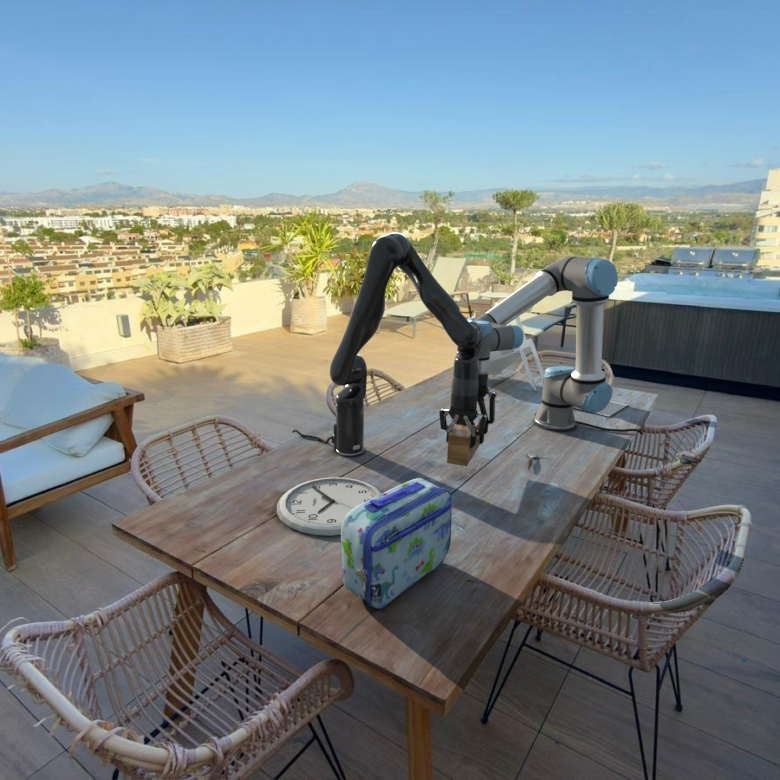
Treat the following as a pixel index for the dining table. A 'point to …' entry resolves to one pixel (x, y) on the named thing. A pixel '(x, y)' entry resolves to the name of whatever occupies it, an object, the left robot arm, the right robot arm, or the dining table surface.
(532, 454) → the fork
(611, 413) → the invitation card
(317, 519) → the wall clock
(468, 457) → the box
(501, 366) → the white plastic object
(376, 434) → the dining table surface
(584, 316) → the right robot arm
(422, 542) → the lunch box
